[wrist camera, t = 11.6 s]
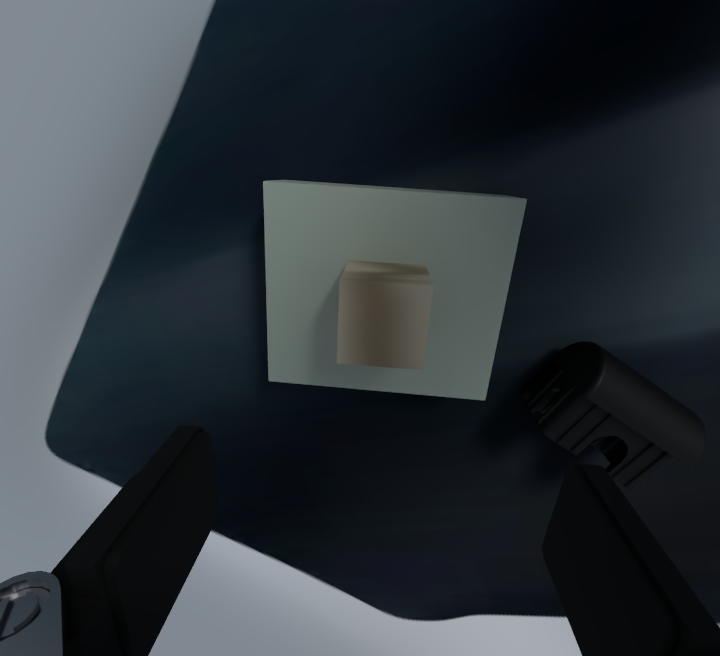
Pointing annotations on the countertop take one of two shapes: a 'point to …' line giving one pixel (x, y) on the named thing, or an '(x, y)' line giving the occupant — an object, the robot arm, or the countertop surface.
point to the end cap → (612, 414)
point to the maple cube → (384, 314)
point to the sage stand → (388, 245)
